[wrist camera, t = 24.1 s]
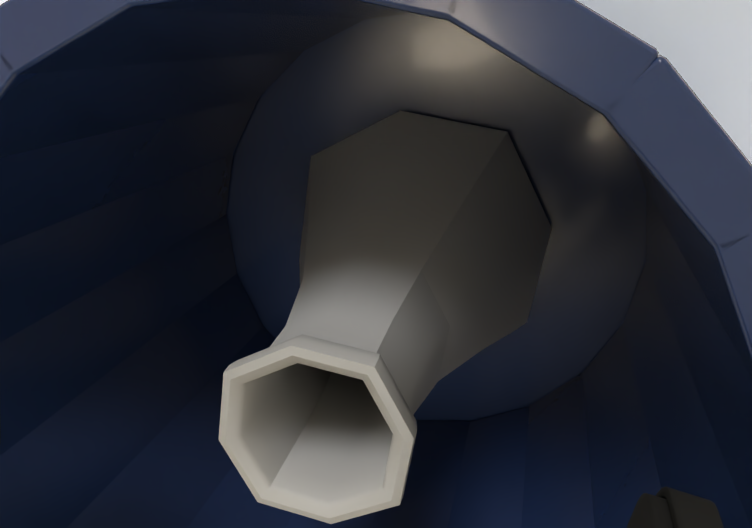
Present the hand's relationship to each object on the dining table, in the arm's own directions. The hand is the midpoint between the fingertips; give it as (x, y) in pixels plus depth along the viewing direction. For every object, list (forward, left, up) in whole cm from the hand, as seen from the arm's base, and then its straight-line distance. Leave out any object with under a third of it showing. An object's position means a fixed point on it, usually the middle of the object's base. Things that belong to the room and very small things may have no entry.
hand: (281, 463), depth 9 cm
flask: (0, 0, -11) cm, 11 cm away
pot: (0, 0, -12) cm, 12 cm away
